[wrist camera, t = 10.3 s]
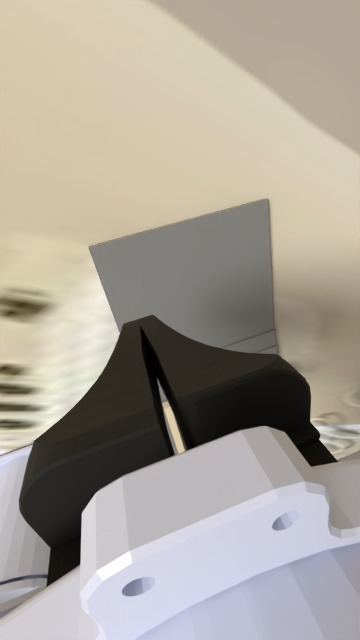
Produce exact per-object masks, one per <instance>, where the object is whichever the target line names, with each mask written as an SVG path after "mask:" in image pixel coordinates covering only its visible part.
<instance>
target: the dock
mask: <svg viewBox="0 0 360 640" xmlns="http://www.w3.org/2000/svg"><path fill="white" fill-rule="evenodd" d="M89 250H90V253H91V256H92V258H93V261H94V264H95V267H96V269H97V272H98V275H99V278H100V280H101V283H102V286H103V288H104V291H105V294H106V297H107V299H108V302H109V305H110V308H111V310H112V313H113V316H114V318H115V321H116V324H117V327H118V329H119V332H121V328H122V326H123V324H124V323H127V322H130V321H134V320H137V319H140V318H143V317H146V316H149V315H154V316H156V317H157V318H158V319H159V320H161V321H162V322H163V323H165V324H166V325H168V326H169V327H171V328H172V329H174V330H175V331H177V332H179V333H181V334H182V335H184V336H186V337H188V338H190V339H193V340H195V341H198V342H201V343H203V344H206V345H210V346H213V347H217V348H221V349H226V350H231V351H238V352H246V353H262V354H277V355H278V348H277V345H276V331H275V329H274V315H273V294H272V273H271V251H270V230H269V209H268V199H262V200H258V201H254V202H251V203H247V204H243V205H240V206H236V207H232V208H228V209H225V210H221V211H217V212H214V213H210V214H206V215H203V216H199V217H195V218H192V219H188V220H184V221H180V222H177V223H173V224H169V225H166V226H162V227H158V228H155V229H151V230H147V231H144V232H140V233H136V234H132V235H129V236H125V237H121V238H118V239H114V240H110V241H107V242H103V243H99V244H96V245H92V246H89ZM157 381H158V379H157ZM158 386H159V391H160V396H161V401H162V406H163V411H164V416H165V421H166V425H167V430H168V433H169V437H170V440H171V443H172V446H173V450H174V453H175V455H177V454H180V453H182V452H185V451H187V449H186V446H185V443H184V440H183V437H182V434H181V431H180V428H179V426H178V423H177V421H176V418H175V416H174V414H173V412H172V410H171V407H170V405H169V403H168V401H167V399H166V397H165V394H164V392H163V390H162V388H161V386H160V383H159V381H158Z"/></svg>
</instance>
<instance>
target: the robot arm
mask: <svg viewBox="0 0 360 640" xmlns="http://www.w3.org/2000/svg"><path fill="white" fill-rule="evenodd" d="M157 379H158V381H159V383H160V386H161V388H162V390H163V392H164V394H165V397H166V399H167V401H168V403H169V405H170V407H171V410H172V412H173V414H174V416H175V418H176V421H177V423H178V426H179V428H180V431H181V434H182V437H183V440H184V443H185V446H186V449H187V451H185V452H182V453H180V454H177V455H175V453H174V450H173V446H172V443H171V440H170V437H169V433H168V430H167V425H166V421H165V416H164V411H163V406H162V401H161V396H160V391H159V386H158V381H157ZM310 408H311V393H310V386H309V385H308V383H307V381H306V379H305V378H304V377H303V376H302V375H301V374H300V373H299V372H298V371H297V370H296V369H295V368H293V367H292V366H291V365H290V364H289V363H288V362H286V361H285V360H284V359H282V358H281V357H280V356H279V355H277V354H262V353H246V352H238V351H231V350H226V349H221V348H217V347H213V346H210V345H206V344H203V343H201V342H198V341H195V340H193V339H190V338H188V337H186V336H184V335H182V334H181V333H179V332H177V331H175V330H174V329H172V328H171V327H169V326H168V325H166V324H165V323H163V322H162V321H161V320H159V319H158V318H157V317H156V316H154V315H149V316H146V317H143V318H140V319H137V320H134V321H130V322H127V323H124V324H123V326H122V328H121V332H120V335H119V338H118V341H117V343H116V346H115V348H114V351H113V353H112V355H111V357H110V359H109V361H108V363H107V365H106V367H105V369H104V370H103V372H102V374H101V375H100V376H99V378H98V379H97V381H96V382H95V383H94V385H93V386H92V387H91V388H90V389H89V391H88V392H87V393H86V394H85V395H84V397H83V398H82V399H81V400H80V401H79V402H78V403H77V404H76V405H75V406H74V407H73V408H72V409H71V410H70V411H69V412H68V413H67V414H66V415H65V416H64V417H63V418H61V419H60V420H59V421H58V422H57V423H56V424H54V425H53V426H52V427H51V428H50V429H48V430H47V431H46V432H45V433H43V434H42V435H41V436H40V437H38V438H37V439H36V440H34V443H33V445H30V446H27V447H24V448H22V449H19V450H16V451H13V452H10V453H8V454H5V455H2V456H0V640H360V451H357V452H355V453H353V454H350V455H348V456H346V457H343V458H341V459H339V460H336V459H335V458H334V456H333V455H332V454H331V453H330V452H329V451H328V449H327V448H326V447H325V446H324V445H323V444H322V442H321V441H320V440H319V438H320V434H319V431H318V430H317V429H316V428H315V427H314V426H313V425H312V424H311V422H310Z"/></svg>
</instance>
